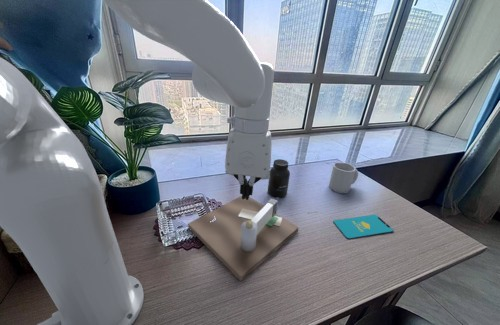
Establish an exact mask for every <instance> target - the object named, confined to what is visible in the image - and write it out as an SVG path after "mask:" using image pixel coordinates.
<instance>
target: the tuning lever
mask: <svg viewBox="0 0 500 325" xmlns="http://www.w3.org/2000/svg"><path fill="white" fill-rule="evenodd" d="M278 202H279V201H278V200H276V199H274V198H270V199H269V200H268V201H267V203H266V204H265V205H263V206H264V207H263V208H262V209H261V210H260V211H259V212H258V213H257V215H256V216H255V217H254V218H253V219H252V220H251V221H250V220H248V221H245V222H243V223H242V225H241V248H242V250H244V251H246V252H251V251H253V250H254V249H255V248H256V237H257V234H258V233H259V232H260V231H261V229H262V228H263V227H264V226H265V225H266V224H267V222H268V221H269V220H270V219H271V218H272V217H274V215H275V214H277V211H278V210H277V209H278V204H279V203H278Z"/></svg>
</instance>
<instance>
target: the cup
mask: <svg viewBox="0 0 500 325" xmlns="http://www.w3.org/2000/svg"><path fill="white" fill-rule="evenodd" d="M332 166H333V167H332V170H331V174H330V178H329V182H328V187H329V189H331V190H332V191H333V192H336V193H338V194H346V193H349V191H350V189H351V186H352V185H353V184H355V182H357V179H358V176H359V172H358V169H357V168H356V167H355V166H354V165H353V164H351V163H348V162H343V161H342V162H341V161H337V162H334V164H333V165H332Z"/></svg>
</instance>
